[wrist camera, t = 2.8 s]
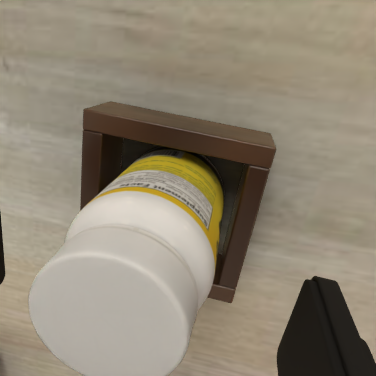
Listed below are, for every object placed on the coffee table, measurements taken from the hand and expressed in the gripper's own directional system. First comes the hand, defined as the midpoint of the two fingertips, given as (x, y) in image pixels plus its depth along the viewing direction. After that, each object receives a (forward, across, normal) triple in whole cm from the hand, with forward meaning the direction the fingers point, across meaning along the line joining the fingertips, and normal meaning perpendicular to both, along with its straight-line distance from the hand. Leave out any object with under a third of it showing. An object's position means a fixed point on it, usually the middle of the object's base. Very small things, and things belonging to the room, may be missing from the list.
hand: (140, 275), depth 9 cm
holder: (+6, 0, 0) cm, 6 cm away
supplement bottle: (+6, 0, 0) cm, 6 cm away
